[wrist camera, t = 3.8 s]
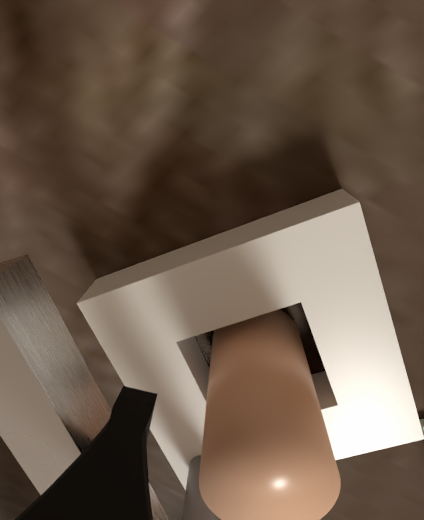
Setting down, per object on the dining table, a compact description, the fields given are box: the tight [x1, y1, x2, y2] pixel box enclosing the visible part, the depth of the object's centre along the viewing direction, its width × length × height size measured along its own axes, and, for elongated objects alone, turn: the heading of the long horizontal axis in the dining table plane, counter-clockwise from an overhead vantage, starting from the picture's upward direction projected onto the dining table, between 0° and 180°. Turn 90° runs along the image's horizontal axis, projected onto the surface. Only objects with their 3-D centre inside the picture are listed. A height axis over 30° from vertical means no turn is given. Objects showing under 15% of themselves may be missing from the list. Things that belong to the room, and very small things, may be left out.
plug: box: [199, 309, 341, 520], centre depth 16 cm, size 4×4×8 cm
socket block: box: [77, 189, 424, 520], centre depth 16 cm, size 12×12×8 cm
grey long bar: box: [0, 254, 169, 520], centre depth 11 cm, size 15×2×2 cm, turn 19°
